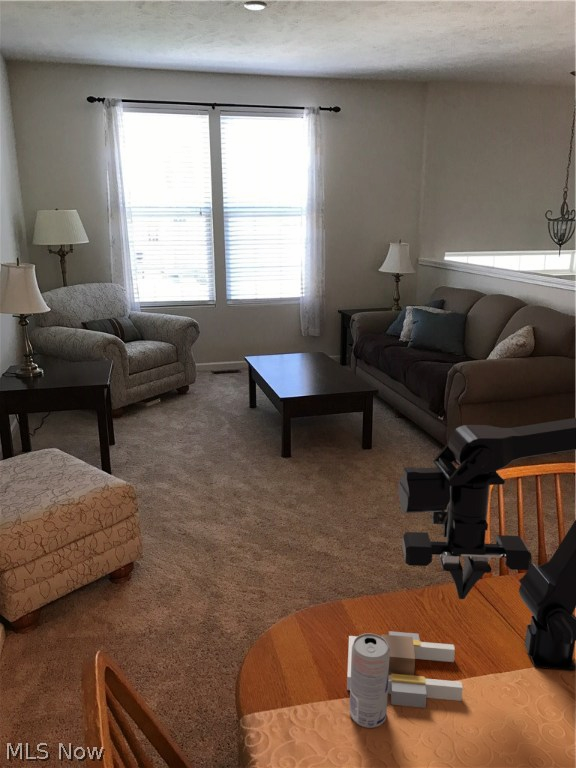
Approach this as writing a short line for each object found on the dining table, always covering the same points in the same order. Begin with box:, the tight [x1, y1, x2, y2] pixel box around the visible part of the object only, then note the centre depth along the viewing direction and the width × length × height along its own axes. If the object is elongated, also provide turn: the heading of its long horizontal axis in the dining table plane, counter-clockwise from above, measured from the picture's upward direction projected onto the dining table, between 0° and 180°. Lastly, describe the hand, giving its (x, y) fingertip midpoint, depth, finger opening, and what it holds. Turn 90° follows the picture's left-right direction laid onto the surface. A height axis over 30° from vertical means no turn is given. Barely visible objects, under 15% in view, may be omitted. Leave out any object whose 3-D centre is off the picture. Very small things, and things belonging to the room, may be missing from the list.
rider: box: [380, 634, 416, 676], centre depth 94 cm, size 5×5×5 cm
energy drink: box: [349, 632, 390, 729], centre depth 85 cm, size 5×5×12 cm
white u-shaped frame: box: [346, 630, 464, 708], centre depth 94 cm, size 17×13×3 cm
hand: (460, 597), depth 94 cm, fingers closed
